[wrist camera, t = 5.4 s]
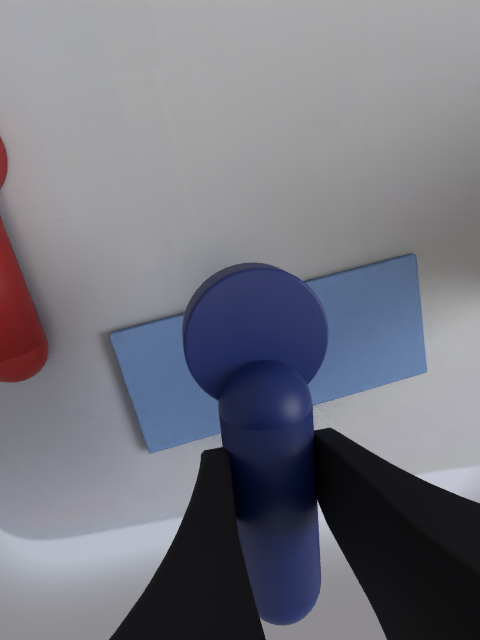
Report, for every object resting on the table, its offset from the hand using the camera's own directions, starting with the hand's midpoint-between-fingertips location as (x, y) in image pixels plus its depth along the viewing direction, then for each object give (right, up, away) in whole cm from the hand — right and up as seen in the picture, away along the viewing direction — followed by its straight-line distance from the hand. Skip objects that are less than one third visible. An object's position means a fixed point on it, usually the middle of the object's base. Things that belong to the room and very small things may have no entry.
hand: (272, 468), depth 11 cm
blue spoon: (0, 0, +1) cm, 1 cm away
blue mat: (+1, +3, +8) cm, 9 cm away
